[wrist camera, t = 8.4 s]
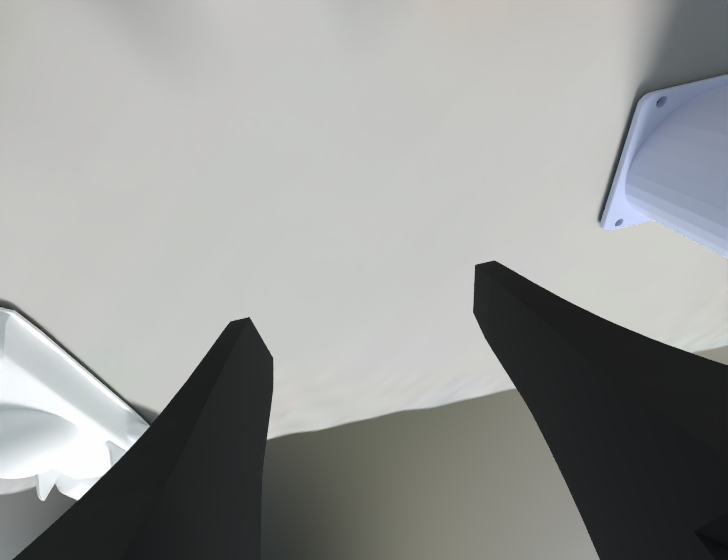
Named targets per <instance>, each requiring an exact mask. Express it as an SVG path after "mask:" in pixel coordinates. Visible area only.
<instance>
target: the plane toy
mask: <svg viewBox="0 0 728 560" xmlns="http://www.w3.org/2000/svg"><path fill="white" fill-rule="evenodd" d="M149 427H150V425H149V424H148V423H147V422H146V421H145V420H144V419H143V418H142V417H140V416H139V415H138V414H137V413H136V412H135V411H134V410H133V409H132V408H131V407H129V406H128V405H127V404H126V403H125V402H124V401H122V400H121V399H120V398H119V397H118V396H117V395H115V394H114V393H113V392H112V391H111V390H110V389H108V388H107V387H106V386H105V385H104V384H103V383H101V382H100V381H99V380H98V379H97V378H96V377H94V376H93V375H92V374H91V373H90V372H89V371H87V370H86V369H85V368H84V367H83V366H82V365H80V364H79V363H78V362H77V361H76V360H75V359H73V358H72V357H71V356H70V355H69V354H68V353H66V352H65V351H64V350H63V349H62V348H61V347H59V346H58V345H57V344H56V343H55V342H54V341H52V340H51V339H50V338H49V337H48V336H47V335H46V334H44V333H43V332H42V331H41V330H39V329H38V328H37V327H36V326H34V325H33V324H32V323H30V322H29V321H28V320H26V319H25V318H24V317H23V316H21V315H20V314H19V313H17V312H16V311H15V310H10V309H6V308H2V307H0V478H6V479H17V478H25V477H29V476H33V475H35V476H36V487H37V494H38V497H39V498H40V499H41V500H42V501H44V500H45V498H46V497H47V495H48V493H49V492H50V490H51V488H52V487H53V485H54V484H56V485H57V487H58V489H59V491H60V492H61V493H63V494H65V495H67V496H69V497H72V498H74V499H76V500H79V499H80V498H81V497H82V496H83V495H84V494H85V493H86V492H87V491H88V490H89V489H90V488H91V487H92V486H93V485H94V484H95V483H96V482H97V481H98V480H99V479H100V478H101V476H103V475H104V474H105V473H106V472H107V471H108V470H109V469H110V468H111V467H112V466H113V465H114V464H115V463H116V462H117V461H118V460H119V459H120V458H121V457H122V456H123V455H124V454H125V453H126V452H127V451H128V450H129V449H130V448H131V447H132V445H133V444H134V443H135V442H136V441H137V440H138V439H139V438H140V437H141V436H142V435H143V433H144V432H145V431H146V430H147V429H148V428H149Z"/></svg>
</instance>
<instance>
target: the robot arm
mask: <svg viewBox="0 0 728 560" xmlns="http://www.w3.org/2000/svg"><path fill="white" fill-rule="evenodd" d="M659 99H660V101H659V102H658V103H657V101H658V100H659ZM616 221H617V222H616ZM649 221H655V222H657V223H659V224H661V225H663V226H665V227H667V228H669V229H671V230H673V231H675V232H677V233H679V234H680V235H682V236H684V237H686V238H688V239H690V240H692V241H694V242H696V243H698V244H700V245H702V246H704V247H706V248H708V249H710V250H712V251H713V252H715V253H717V254H719V255H721V256H723V257H725V258H727V259H728V74H726V75H721V76H717V77H713V78H709V79H704V80H700V81H696V82H691V83H687V84H683V85H679V86H674V87H670V88H666V89H661V90H657V91H653V92H649V93H647V94H645V95H644V96H643V97H642V98H641V99H640V100H639V102H638V104H637V107H636V110H635V113H634V116H633V120H632V123H631V126H630V129H629V133H628V136H627V139H626V142H625V145H624V149H623V152H622V155H621V158H620V161H619V165H618V168H617V171H616V174H615V177H614V181H613V184H612V187H611V190H610V193H609V197H608V200H607V203H606V206H605V209H604V213H603V216H602V219H601V222H600V227H601V228H602V229H603V230H605V231H610V230H614V229H618V228H623V227H627V226H631V225H636V224H640V223H644V222H649ZM473 313H474V315H475V317H476V319H477V322H478V324H479V326H480V328H481V330H482V332H483V334H484V337H485V339H486V340H487V342H488V344H489V345H490V347H491V349H492V350H493V352H494V353H495V355H496V357H497V358H498V360H499V361H500V363H501V364H502V366H503V368H504V369H505V371H506V372H507V374H508V376H509V377H510V379H511V380H512V382H513V383H514V385H515V387H516V388H517V390H518V391H519V393H520V394H521V396H522V397H523V399H524V401H525V403H526V404H527V406H528V408H529V409H530V411H531V413H532V415H533V416H534V418H535V421H536V422H537V424H538V426H539V428H540V430H541V432H542V434H543V436H544V438H545V440H546V442H547V444H548V446H549V448H550V450H551V452H552V454H553V457H554V458H555V461H556V463H557V464H558V467H559V469H560V471H561V473H562V475H563V477H564V479H565V482H566V484H567V486H568V488H569V490H570V492H571V495H572V497H573V499H574V501H575V504H576V506H577V508H578V510H579V512H580V514H581V517H582V519H583V521H584V523H585V525H586V528H587V530H588V533H589V535H590V537H591V540H592V542H593V545H594V547H595V549H596V552H597V554H598V556H599V558H600V560H728V365H725V364H722V363H719V362H715V361H712V360H709V359H706V358H704V357H701V356H698V355H695V354H692V353H689V352H686V351H684V350H681V349H678V348H675V347H672V346H669V345H667V344H664V343H661V342H659V341H656V340H653V339H651V338H648V337H646V336H643V335H641V334H639V333H636V332H634V331H631V330H629V329H626V328H624V327H622V326H619V325H617V324H615V323H612V322H610V321H608V320H606V319H603V318H601V317H599V316H597V315H595V314H593V313H591V312H589V311H587V310H585V309H582V308H580V307H578V306H576V305H574V304H572V303H570V302H568V301H567V300H565V299H563V298H561V297H559V296H557V295H555V294H553V293H551V292H550V291H548V290H546V289H544V288H542V287H540V286H539V285H537V284H535V283H533V282H532V281H530V280H528V279H526V278H525V277H523V276H521V275H519V274H518V273H516V272H514V271H512V270H511V269H509V268H507V267H505V266H504V265H502V264H500V263H498V262H496V261H490V262H486V263H482V264H477V265H475V283H474V307H473ZM272 394H273V357H272V355H271V354H270V352H269V350H268V348H267V347H266V345H265V343H264V342H263V340H262V338H261V336H260V335H259V333H258V331H257V329H256V328H255V326H254V324H253V322H252V321H251V319H250V317H248V318H244V319H239V320H235V321H231V322H230V323H229V324H228V325H227V327H226V328H225V329H224V331H223V332H222V333H221V335H220V336H219V338H218V339H217V340H216V342H215V343H214V344H213V346H212V347H211V349H210V350H209V351H208V353H207V354H206V356H205V357H204V358H203V360H202V361H201V362H200V364H199V365H198V366H197V368H196V369H195V371H194V372H193V373H192V375H191V376H190V377H189V379H188V380H187V381H186V383H185V384H184V385H183V386H182V388H181V389H180V390H179V391H178V393H177V394H176V395H175V396H174V398H173V399H172V400H171V401H170V403H169V404H168V405H167V406H166V408H165V409H164V410H163V411H162V413H161V414H160V415H159V416H158V417H157V419H156V420H155V421H154V422H153V423H152V424H151V425H150V427H149V428H148V429H147V430H146V431H145V432H144V433H143V435H142V436H141V437H140V438H139V439H138V440H137V441H136V442H135V443H134V444H133V445H132V447H131V448H130V449H129V450H128V451H127V452H126V453H125V454H124V455H123V456H122V457H121V458H120V459H119V460H118V461H117V462H116V463H115V464H114V465H113V466H112V467H111V468H110V469H109V470H108V471H107V472H106V473H105V474H104V475H103V476H102V477H101V478H100V479H99V480H98V481H97V482H96V483H95V484H94V485H93V486H92V487H91V488H90V489H89V490H88V491H87V492H86V493H85V494H84V495H83V496H82V497H81V498H80V499H79V500H78V501H77V502H76V503H75V504H74V505H73V506H72V507H71V508H70V509H68V511H66V512H65V513H64V514H63V515H62V516H61V517H60V518H59V519H58V520H57V521H55V523H53V524H52V525H51V526H50V527H49V528H48V529H47V530H46V531H44V532H43V533H42V534H41V535H40V536H39V537H38V538H36V539H35V540H34V541H33V542H32V543H31V544H30V545H29V546H27V547H26V548H25V549H24V550H23V551H22V552H21V553H20V554H18V555H17V556H16V557H15V558H14V559H13V560H260V537H261V536H260V535H261V533H260V532H261V495H262V472H263V462H264V454H265V447H266V439H267V432H268V425H269V417H270V410H271V402H272Z"/></svg>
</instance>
